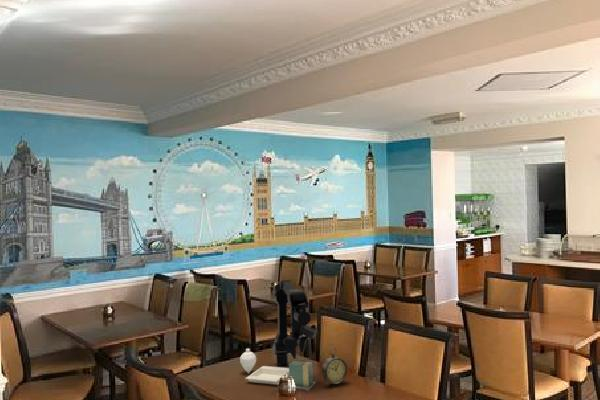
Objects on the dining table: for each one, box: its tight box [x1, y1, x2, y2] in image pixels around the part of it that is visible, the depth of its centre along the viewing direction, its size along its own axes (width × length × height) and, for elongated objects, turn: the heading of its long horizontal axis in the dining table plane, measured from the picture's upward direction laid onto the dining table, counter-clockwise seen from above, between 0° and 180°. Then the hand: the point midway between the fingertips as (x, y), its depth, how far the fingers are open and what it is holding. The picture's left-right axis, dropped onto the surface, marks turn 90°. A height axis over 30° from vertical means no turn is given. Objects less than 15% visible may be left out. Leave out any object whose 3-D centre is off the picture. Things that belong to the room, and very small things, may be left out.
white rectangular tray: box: [245, 365, 289, 386], centre depth 225 cm, size 18×15×3 cm
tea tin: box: [288, 360, 314, 387], centre depth 217 cm, size 5×9×9 cm, turn 69°
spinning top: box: [239, 348, 257, 374], centre depth 234 cm, size 8×8×12 cm
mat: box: [295, 380, 317, 392], centre depth 216 cm, size 10×10×1 cm
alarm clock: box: [321, 346, 348, 388], centre depth 216 cm, size 11×5×16 cm, turn 117°
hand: (298, 355), depth 219 cm, fingers open, 9 cm apart
